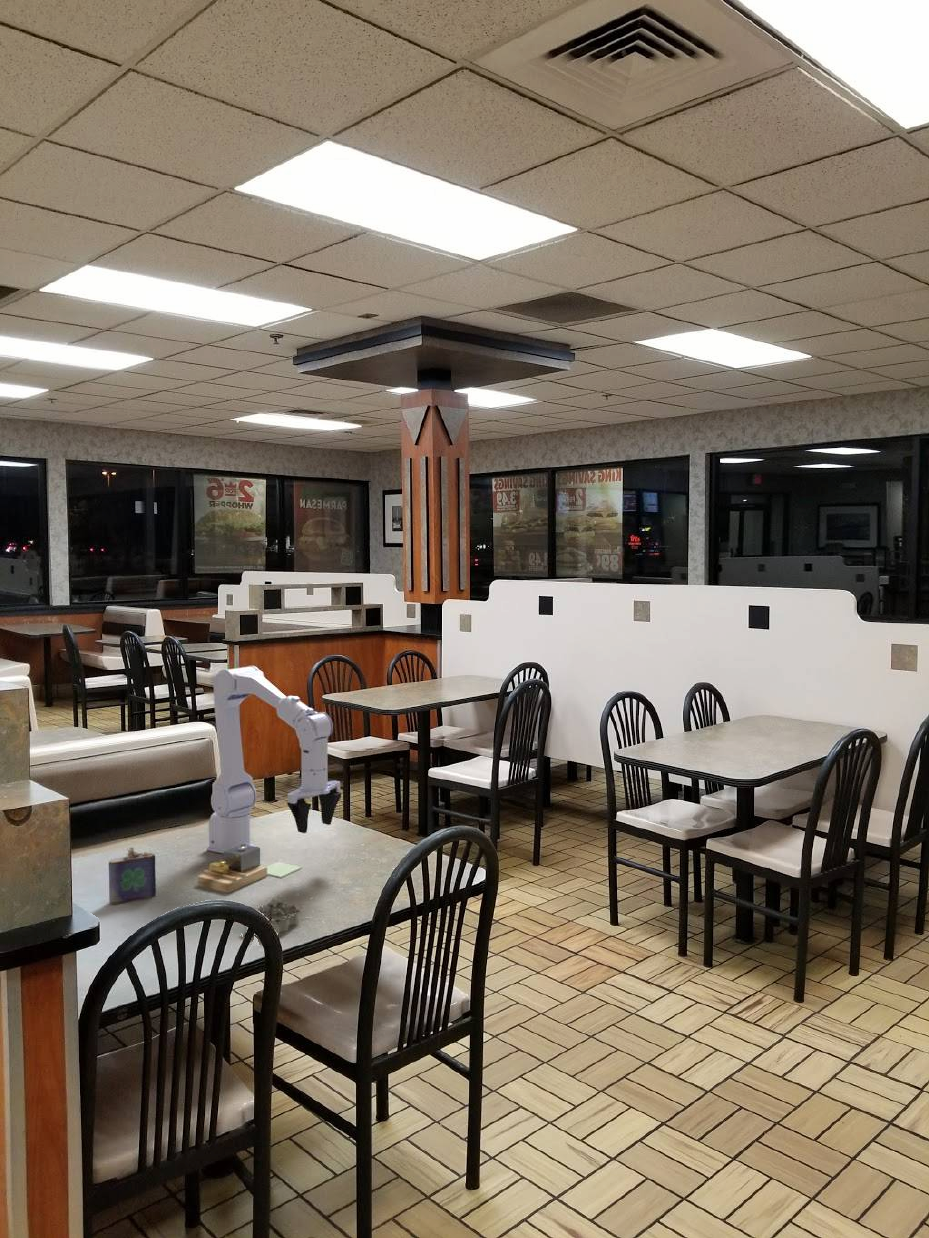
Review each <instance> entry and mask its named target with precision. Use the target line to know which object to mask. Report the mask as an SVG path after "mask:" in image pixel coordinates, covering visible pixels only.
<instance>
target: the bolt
mask: <svg viewBox="0 0 929 1238" xmlns="http://www.w3.org/2000/svg"><path fill="white" fill-rule="evenodd" d="M209 871H211V872H215V873H219V874H223V875H228V874H229V865H226V861H224V860H220V861H219V862H217V861H215V862H212V863H209Z"/></svg>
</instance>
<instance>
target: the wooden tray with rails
mask: <svg viewBox="0 0 929 1238" xmlns="http://www.w3.org/2000/svg"><path fill="white" fill-rule="evenodd" d="M267 876H268V875H267V866H265V865H262V864H260V866H258V867H255V868H253V869H251V870H248V871H246V872H244V873H240V872H236V871H231V870H229V874H228V875H223V874H219V873H215V872H211V871H210V870H206V869H205V870H203V873H201V874H199V875H197V876H196V885H197V886H199V887H202V888H206V889H209V890H214V891H217V892H222V893H226V894H230V893H232V892H234V891H236V890H239V889H241V888H244V887H246V886H248V885H250V884H252V883H254V882H258V880H260V879H263V878H265V877H267Z"/></svg>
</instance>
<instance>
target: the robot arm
mask: <svg viewBox="0 0 929 1238" xmlns="http://www.w3.org/2000/svg"><path fill="white" fill-rule="evenodd" d="M212 685H213V694H214V695H213V696H214V697H213V703H214V715H215V725H216V726H215V727H216V737H217V743H218V744H217V747H218V756H219V757H218V758H219V768H220V769H219V770H220V774H219V776H218V777H216V779H215V780H214V782H213V783H212V793H211V797H210V805H211V808H212V810H213V811H214V812H213V813H212V814H211V815H210V818H209V822H208V846H207V847H206V851H211V852H215V853H220V854H223V855H224V851H227V850H229V849H232V848H234V847H237V846H239V845H242V844H245V845H250V846H254V847H259V845H258V844H254V843H251V813H250V812H252V811H253V806H255V805H256V803H257V800H258V793H257V792H258V791H257V789H256V788H255V785H254V781H253V780H254V779H253V777H252V775H250V774H249V773H247V772H246V771H245V765H244V753H243V744H242V734H241V732H242V731H241V723H240V711H239V706H240V705H241V704H242V702H243V701H245V699H246V698H248V697H250V696H251V695H255V696H256V697H257V698H259V699H261V700H262V701H264V702H265V703H267V704H268V705H270V706H271V707H273V708H275V709H276V715H277V716H278V718H279V719H281V720H282V721H284V722H285V723H286V724H287V725H288V726H290V727H291V728H292V729H294V730H295V734H296V736H297V739H298V742H299V748H300V749H301V786H300V787H298V788H297V789H295V790H293V791H291V792H289V793H287V801H286V805H287V806H288V808H289V810H290V811H291V814H292V816H293V817H294V821H295V824H296V825H295V826H296V828H297V832H298V833H302V834H306V833H307V832H308V823H309V822H308V821H309V820H308V819H309V813H310V810H311V806H312V804H311V803H309V802H307V799H310V798H314V797H318V799H319V803H320V811H321V823H322V824H324V825H326V826H327V825H328V826H329V825H331V824H332V822H333V817H334V813H335V811H336V808H337V805H338V803H339V801H340V800H341V798H342V792H340V791H341V781H339V780H336V779H335V780H330V781H328V777H329V776H328V770H329V769H328V749H329V748H328V747H329V746H328V738H329V737H330V736H331V735H332V733H333V730H334V723H333V721H332V717H330V716H329V715H328V713H327V712H325V711H320V712H317V711H316V710H315V709H314V708H313V707H309V706H308V705H307V704H305V703H304V702H302V701H301V698H300V697H299V696H297V695H295V696H294V695H287V696H286V695H285V694H284V693H282V692H281V691H280V690H279V689H278V688H277V687H276V686H274V684H272V683H271V681H269V680H268V679H266V678H265V674H264V671H262V670H260V669H259V668H258V667H257V666H256V665H255V666H254V665H247V666H243V667H242V666H241V667H236V668H230V669H229V668H228V669H221V670H219V671H218V672H217V673H216V675H215V676H214V677H213V679H212Z"/></svg>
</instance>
